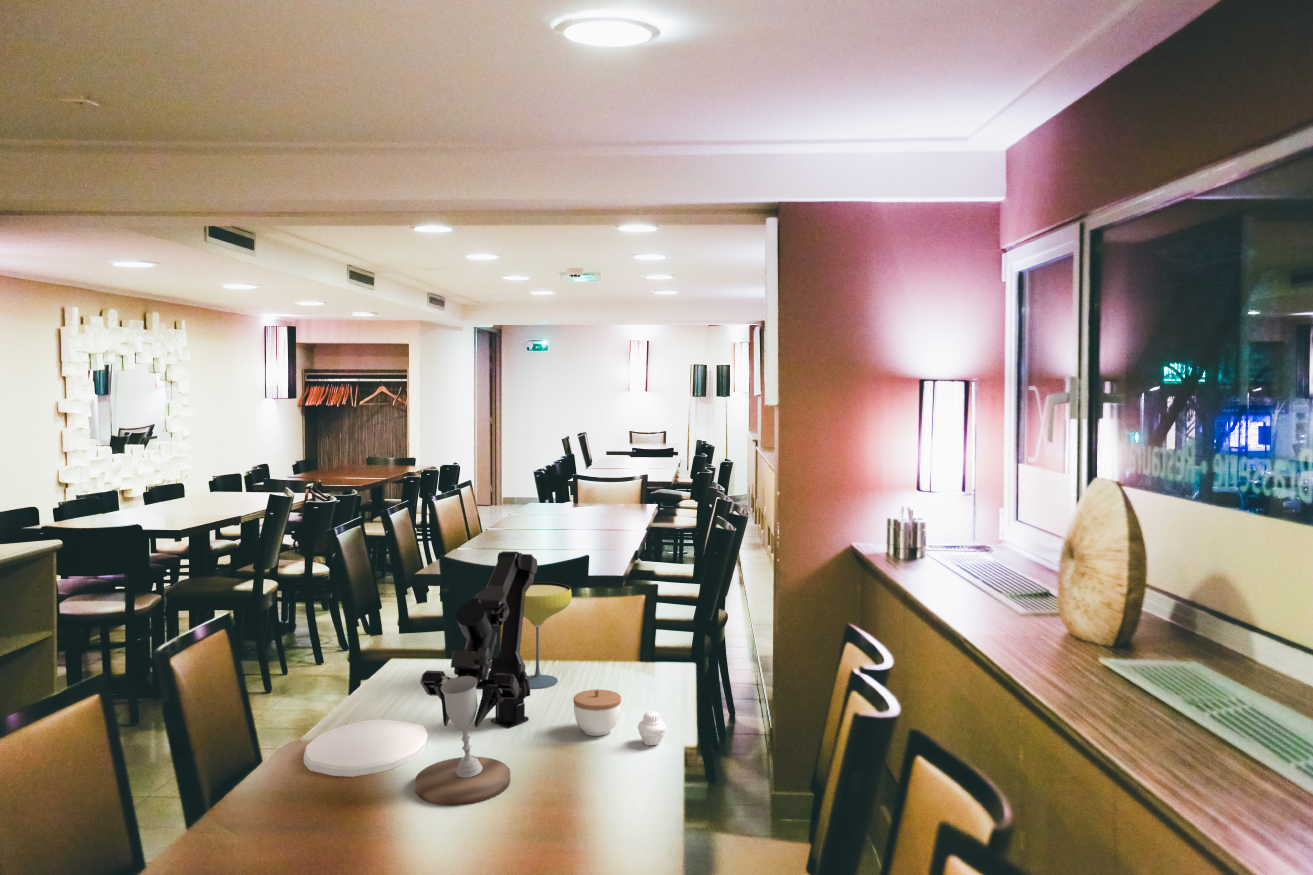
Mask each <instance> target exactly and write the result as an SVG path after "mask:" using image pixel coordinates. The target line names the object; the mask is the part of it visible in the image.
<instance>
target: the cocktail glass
mask: <svg viewBox="0 0 1313 875" xmlns="http://www.w3.org/2000/svg"><path fill="white" fill-rule="evenodd" d="M572 594H573V593H572V589H571V587H570V586H569V585H567V584H563V583H558V582H548V581H540V582H539V581H537V582H536V581H535V582H534V581H533V583H532V584H531V586H530V587H529V588H528V590H527V591H526V594H525V605H524V615H523V618H525V619H527V620H528V621H529V622H530V623H531V624H532V626H533V627H535V630H536V633H535V634H536V635H535V636H536V638H535V639H536V641H535V642H536V643H535V644H536V645H535V646H536V648H535V654H536V655H535V672H534V674H531V675H527V676H528V679H529V681H530V690H533V689H535V690H536V689H545V688H546V689H547V688H550V687H553V686H555V685H557V683H558V681H559V679H558V678H557V677H555V676H553V675H548V674H541V670H540V653H539V652H540V651H539V649H540V648H539V645H540V644H539V642H540V641H539V639H540V638H539V631H540V630H539V629H540V628H539V627H541V626H543V624H544V622H546V620H547V619H549V618H551V617H552V616H554V615H557V614H558V613H560V612H562V611H563V610H565V609H566V608H567V607H568V606H569V605H570V603H571V601H572Z"/></svg>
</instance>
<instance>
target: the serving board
mask: <svg viewBox="0 0 1313 875" xmlns="http://www.w3.org/2000/svg"><path fill="white" fill-rule="evenodd" d="M463 757H464V756H460V757H454V758H448V759H445V760H441V761H438V762H436V763H433V764H431V765H429V766H427V767H424V768H423V769H422V770H421V771H419V773H417V775H415V776H416V777H415V779H414V792H415V794H416V795H417V796H418V798H419V799H421V800H423V801H425V802H428V803H430V804H434V805H439V806H440V805H441V806H464V805H470V804H471V805H472V804H477V802H478V803H481V802H484V801H487V799H488V800H490V799H493V798H494V797H497V796H499V795H500V794H502V793H503V792H504V791H505V790H507V789H508V787H509V785H510V784H511V769H510V767H509V766H508V765H507V764H506V763H504V762H502V761H501V760H498V759H495V758H491V757H485V756H475V757H476V758H477V759H478V761H479V762H480V764H481V765H482V767H483V769H482V771H481V772H480V773H479V774H477V775H475V776H473V777H468V778H463V777H459V776H458V775H457V774H456V772H457V769H458V765H459V762H460V760H461V759H462V758H463ZM496 795H497V796H496ZM492 797H493V798H492Z"/></svg>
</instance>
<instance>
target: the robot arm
mask: <svg viewBox="0 0 1313 875" xmlns="http://www.w3.org/2000/svg"><path fill="white" fill-rule="evenodd" d="M496 560H497V561H496V565H495V566H494V569H493V571H492V574H491V576H490V579H489V581H488V583H487V586H486V587H485V588H484V589H482V590H481V591H478V592H477V593H476V595H475V597H470V598H469V601H468V602H466V603H464V604H462V605H461V606H460V607H459V608H458V610H457V611H456V615H455V618H456V621H457V623H458V626H459V628H460V630H461V632H462V634H463V637H465V638H466V644H465V648H464V649H462V650H453V651H452V655H451V661H450V662H451V663H450V668H452V669H454V670H453V673H454V675H457V677H460V676H472V677H475V678H476V679H477V680H478V683H477V685H476V690H482V693H481V699H480V702H479V705H478V707H477V711H476V715H475V718H474V723H473V724H474V728H478V727H479V726H480V725H481V724H482V722H483V720H484V719H486V716H487V715H489V713H490V712H491V710H493V709H494V708H495V717H493V718H490V722H491V723H493V724H496V725H500V726H502V727H506V728H512V727H514V726H515V727H516V726H517V725H519V724H522V723H524V722H527V721H529V720H530V717H529V716H526V713H525V712H526V711H525V709H526V707H525V705H526V704H525V699H526V697H530V696H531V689H530V681H529V679H528V676H529V675H528V674H527V672H526V664H525V662H524V660H523V658H522V656H521V643H522V634H523V633H522V632H523V622H524V617H523V615H524V605H525V594H526V591H527V590H528V588H529V587H530V586H531V584H532V583H533V582H534V579H535V574H537V571H538V560H537V558H535V557H534V556H533V554H531V553H526V554H525V553H521V552H518V551H507V550H505V551H501V552H498V555H497V559H496ZM493 626H502V629H501V630H502V631H501V640H500V646H499V647H500V649H499V652H498V654H497V655H496V657H493V653H494V649H495V646H496V643H497V640H498V639H497V637H498V636H497V635H498V633H497V631H496V629H495V627H493ZM492 657H493V658H492ZM453 678H454V677H449V676H446V674H445V671H443V670H426V671H425V672H423V673H422V674H421V679H420V682H419V683H420V684H421V686H422V688H423V690H424V691H425V693H426V695H428V696H432V697H438V698H439V700H440V701H441V710H442V721H443V722H442V723H443V725H444V727H447V726H448V724H449V722H450V719H449V717H448V715H447V713H446V705H445V697H444V694H443V692H442V691H441V686H442V685H443V684H444V683H445V682H447V681H448V680H450V679H453Z"/></svg>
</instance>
